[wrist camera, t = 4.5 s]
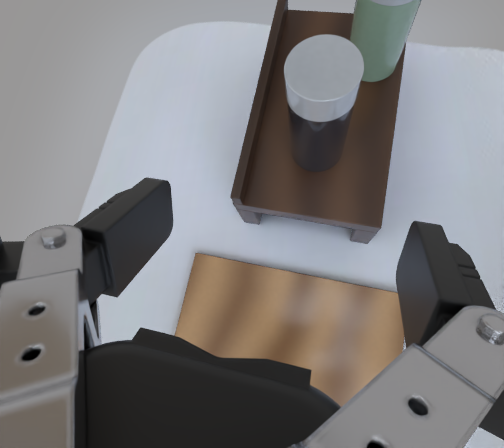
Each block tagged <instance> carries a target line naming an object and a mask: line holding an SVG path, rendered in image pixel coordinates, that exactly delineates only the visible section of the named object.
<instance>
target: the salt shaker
mask: <svg viewBox="0 0 504 448" xmlns="http://www.w3.org/2000/svg"><path fill="white" fill-rule="evenodd" d="M420 3H421V0H356V3H355V9H354V15H353V21H352V27H351V32H350V38H349V41H350V42H352V43H353V44H354V45H355V46H356V47H357V48H358V49H359V51H360V52H361V55H362V57H363V61H364V73H363V77H362V81H366V82H376V81H380V80H383V79H385V78H387V77H388V76H390V75H391V74H392V73H393V72H394V70H395V69H396V67H397V64H398V61H399V59H400V56H401V53H402V51H403V48H404V45H405V43H406V40H407V37H408V35H409V32H410V29H411V27H412V24H413V21H414V19H415V16H416V13H417V11H418V8H419V5H420Z"/></svg>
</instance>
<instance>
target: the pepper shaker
mask: <svg viewBox="0 0 504 448" xmlns="http://www.w3.org/2000/svg"><path fill="white" fill-rule="evenodd" d="M363 73H364V61H363V57H362V55H361V52H360V51H359V49H358V48H357V47H356V46H355V45H354V44H353V43H352V42H350V41H349V40H347V39H345V38H343V37H340V36H336V35H330V34H324V35H317V36H313V37H310V38H307V39H305V40H303V41H302V42H300V43H299V44H297V45H296V46H295V47H294V48H293V49H292V50H291V52H290V53H289V55H288V57H287V59H286V61H285V65H284V79H285V92H286V99H287V109H288V123H289V137H290V150H291V155H292V158H293V160H294V161H295V162H296V164H297V165H299V166H300V167H301V168H303V169H305V170H308V171H312V172H321V171H325V170H328V169H330V168H332V167H333V166H335V165H336V164H337V163H338V162H339V160H340V159H341V157H342V154H343V150H344V146H345V142H346V138H347V134H348V130H349V126H350V122H351V118H352V114H353V110H354V106H355V102H356V100H357V97H358V93H359V89H360V85H361V81H362V77H363Z"/></svg>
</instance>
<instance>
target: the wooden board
mask: <svg viewBox="0 0 504 448" xmlns="http://www.w3.org/2000/svg"><path fill="white" fill-rule="evenodd" d="M175 336H177V337H180V338H182V339H184V340H186V341H188V342H190V343H192V344H193V345H195V346H197V347H199V348H201V349H203V350H205V351H207V352H209V353H210V354H212V355H214V356H217V357H221V358H259V359H270V360H274V361H278V362H282V363H286V364H290V365H294V366H298V367H302V368H306V369H310V370H312V371H311V380H310V385H312V386H313V387H315V388H317V389H319V390H320V391H322V392H323V393H325V394H326V395H328V396H329V397H330V398H332V399H333V400H334V401H335V402H337V403H338V404H339V405H340V406H341V407H342V406H343V405H344V404H346V403H347V402H348V401H349V400H350V399H351V398H352V397H353V396H354V395H356V394H357V393H358V392H359V391H360V390H361V389H362V388H363V387H364V386H365V385H367V384H368V383H369V382H370V381H371V380H372V379H373V378H374V377H375V376H377V375H378V374H379V373H380V372H381V371H382V370H383V369H384V368H385V367H386V366H388V365H389V364H390V363H391V362H392V361H393V360H394V359H395V358H396V357H398V356H399V355H400V354H401V353H402V352H403V343H404V329H403V323H402V316H401V310H400V303H399V297H398V293H396V292H391V291H386V290H381V289H376V288H371V287H366V286H360V285H355V284H350V283H345V282H340V281H335V280H330V279H325V278H320V277H315V276H310V275H305V274H300V273H295V272H290V271H285V270H280V269H275V268H270V267H265V266H260V265H255V264H250V263H245V262H240V261H235V260H229V259H224V258H219V257H214V256H209V255H204V254H199V253H196V254H195V258H194V262H193V266H192V270H191V274H190V278H189V281H188V285H187V289H186V293H185V297H184V301H183V305H182V309H181V313H180V317H179V321H178V325H177V329H176V333H175Z"/></svg>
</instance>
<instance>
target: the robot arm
mask: <svg viewBox="0 0 504 448" xmlns="http://www.w3.org/2000/svg"><path fill="white" fill-rule="evenodd" d="M172 227H173V211H172V198H171V187H170V184H169V182H168V181H165V180H159V179H153V178H144V179H143V180H142V181H140V182H139V183H138V184H136V185H135V186H134V187H133V188H131V189H128V190H126V191H123V192H120V193H118V194H116V195H114V196H113V197H112V198H110V199H109V200H108V201H107V203H104V204H102V205H101V206H100V207H99V209H95V210H94V211H93V212H91V213H90V214H89V215H87V216H86V217H85V218H83V219H82V220H81V221H79V222H78V223H76V224H75V225H74V226H71V225H54V226H49V227H45V228H42V229H40V230H37V231H35V232H34V233H32V234H31V235H29V236H28V237H27V238H26V240H25V241H23V242H22V241H21V242H2V240H1V237H0V448H463V447H464V446H465V445H466V443H467V442H468V440H469V439H470V437H471V436H472V434H473V433H474V432H475V430H476V429H477V427H480V428H482V429H484V430H486V431H488V432H490V433H492V434H494V435H495V436H497V437H499V438H501V439H503V440H504V313H502V312H500V311H497V310H496V308H495V306H494V304H493V302H492V300H491V298H490V296H489V294H488V292H487V290H486V288H485V286H484V284H483V282H482V280H480V275H479V273H478V271H477V270H475V268H476V267H475V265H474V263H473V261H472V259H471V257H470V255H469V254H468V253H466V252H465V251H464V250H463V249H462V248H461V247H460V246H459V245H458V244H453V243H449V242H448V240H447V237H446V235H445V232H444V230H443V228H442V226H441V225H437V224H431V223H424V222H418V221H414V222H413V223H412V224H411V226H410V229H409V232H408V235H407V238H406V241H405V244H404V247H403V250H402V253H401V256H400V259H399V262H398V266H397V271H396V284H397V291H398V297H399V303H400V310H401V316H402V323H403V329H404V335H405V342H406V349H405V350H404V351H403V352H402V353H401V354H400V355H399V356H398V357H396V358H395V359H394V360H393V361H392V362H391V363H390V364H389V365H388V366H386V367H385V368H384V369H383V370H382V371H381V372H380V373H379V374H378V375H377V376H375V377H374V378H373V379H372V380H371V381H370V382H369V383H368V384H367V385H365V386H364V387H363V388H362V389H361V390H360V391H359V392H358V393H357V394H356V395H354V396H353V397H352V398H351V399H350V400H349V401H348V402H347V403H346V404H344V405H343V406H342V407H341V406H340V405H339V404H338V403H337V402H335V401H334V400H333V399H332V398H330V397H329V396H328V395H326V394H325V393H323V392H322V391H320V390H319V389H317V388H315V387H313V386H312V385H310V380H311V371H312V370H310V369H306V368H302V367H298V366H294V365H290V364H286V363H282V362H278V361H274V360H270V359H259V358H221V357H217V356H214V355H212V354H210V353H209V352H207V351H205V350H203V349H201V348H199V347H197V346H195V345H193V344H192V343H190V342H188V341H186V340H184V339H182V338H180V337H177V336H173V335H169V334H165V333H161V332H157V331H153V330H149V329H145V328H140V329H139V330H138V332H137V333H136V335H135V336H134V338H133V339H132V340H124V341H115V342H110V343H105V344H102V341H101V328H100V314H99V304H98V300H97V298H98V297H99V296H100V295H101V294H105V295H109V296H114V297H118V296H119V295H120V294H121V293H122V291H123V290H124V289H125V288H126V287H127V285H128V284H129V283H130V282H131V281H132V280H133V278H134V277H135V276H136V275H137V274H138V273H139V271H140V270H141V269H142V268H143V267H144V265H145V264H146V263H147V262H148V261H149V260H150V258H151V257H152V256H153V255H154V254H155V253H156V251H157V250H158V249H159V248H160V247H161V246H162V244H163V243H164V242H165V241H166V240H167V238H168V237H169V236H170V234H171V231H172Z"/></svg>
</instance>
